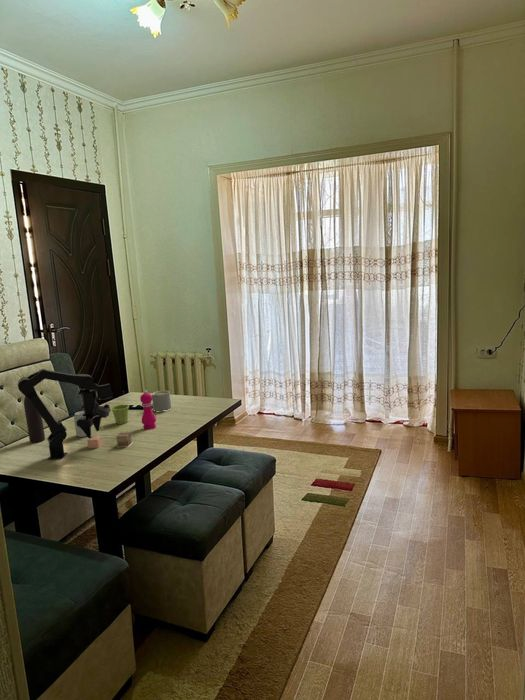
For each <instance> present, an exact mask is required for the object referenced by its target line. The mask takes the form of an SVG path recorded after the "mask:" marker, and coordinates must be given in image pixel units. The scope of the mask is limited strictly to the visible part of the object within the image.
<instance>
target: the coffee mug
mask: <svg viewBox="0 0 525 700" xmlns="http://www.w3.org/2000/svg"><path fill="white" fill-rule="evenodd" d="M151 395H152V401H151V402H152V405H151V408H153V411H154V410H155V411H163V410H168V409H170V408H171V409H172V403H171V392H170V391H169V390H158V391H154V392H152V394H151Z"/></svg>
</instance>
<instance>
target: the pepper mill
mask: <svg viewBox="0 0 525 700" xmlns="http://www.w3.org/2000/svg"><path fill="white" fill-rule="evenodd" d="M139 398H140V399H139V401H140V402H141V406H142V408H143V413H142V416H141V423H142V424H143V430H146V431H147V430H155V429H156V428H157V424H156V421H157V417H156V414H155V413H154V411H153V409H152V408H153V407H151V405H152V403H153V401H152V394H151V393H148V390H144V391H143V393H142V394H141V395H140V397H139ZM154 428H155V429H154Z"/></svg>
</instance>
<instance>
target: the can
mask: <svg viewBox="0 0 525 700" xmlns="http://www.w3.org/2000/svg"><path fill="white" fill-rule="evenodd" d="M83 414H84V410H81V411H77V412H74V416H73V421H74V427H75V433H76V434H75V435H76V436H77V437H78V438H87V435H86V434H85V433H84V431H83V430H82V429H81V428H80V427H79V426H77V423H76V422H77V421H78V420H79V419H80V418H81V417H83ZM92 432H93V430H92V427H91V434H92Z"/></svg>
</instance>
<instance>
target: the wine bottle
mask: <svg viewBox="0 0 525 700" xmlns="http://www.w3.org/2000/svg"><path fill="white" fill-rule="evenodd" d="M23 409H24V413H25V414H24V415H25V419H26V427H27V433H28V439H29V442H30V443H32V444H35V443H41V442H43V441H45V440H46V436H45V434H46V433H45V429H44V422H43V421H44V420H43V418H42V416H41V415H40V413H39V412H38V411H37V409H36V408H35V406H34V405H33V404H32V402H31V401H30V400H29V399H28V398H27V397H26V396H25V395H24V399H23Z"/></svg>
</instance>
